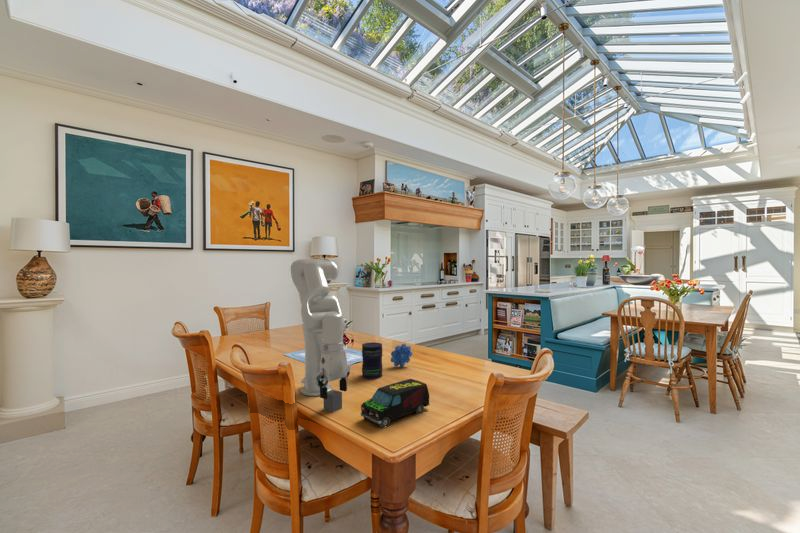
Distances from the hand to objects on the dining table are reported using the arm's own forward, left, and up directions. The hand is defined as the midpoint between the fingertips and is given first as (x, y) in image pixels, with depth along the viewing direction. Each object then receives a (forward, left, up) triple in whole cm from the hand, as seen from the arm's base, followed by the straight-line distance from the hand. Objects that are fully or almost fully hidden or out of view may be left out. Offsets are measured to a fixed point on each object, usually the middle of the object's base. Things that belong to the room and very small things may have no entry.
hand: (333, 394), depth 130 cm
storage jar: (-14, +39, -6) cm, 41 cm away
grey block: (-1, +1, -6) cm, 6 cm away
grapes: (-12, +60, -6) cm, 61 cm away
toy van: (+21, +10, -6) cm, 24 cm away
